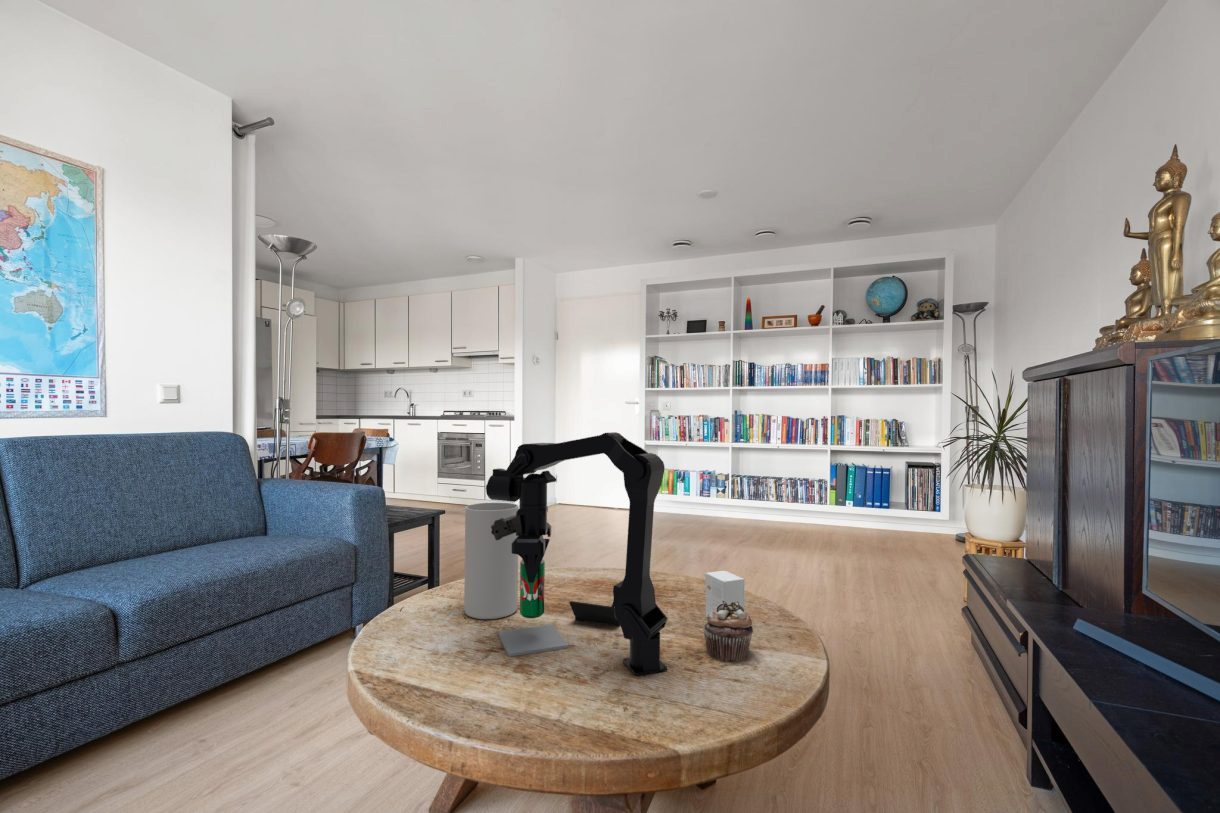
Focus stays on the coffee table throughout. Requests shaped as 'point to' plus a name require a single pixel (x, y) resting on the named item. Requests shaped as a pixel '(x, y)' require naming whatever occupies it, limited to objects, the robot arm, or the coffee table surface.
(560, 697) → the coffee table surface
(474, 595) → the cylinder vase
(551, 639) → the slate mat
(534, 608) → the soda can
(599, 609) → the handheld gaming console
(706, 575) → the small box
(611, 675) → the coffee table surface
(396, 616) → the coffee table surface
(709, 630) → the cupcake
